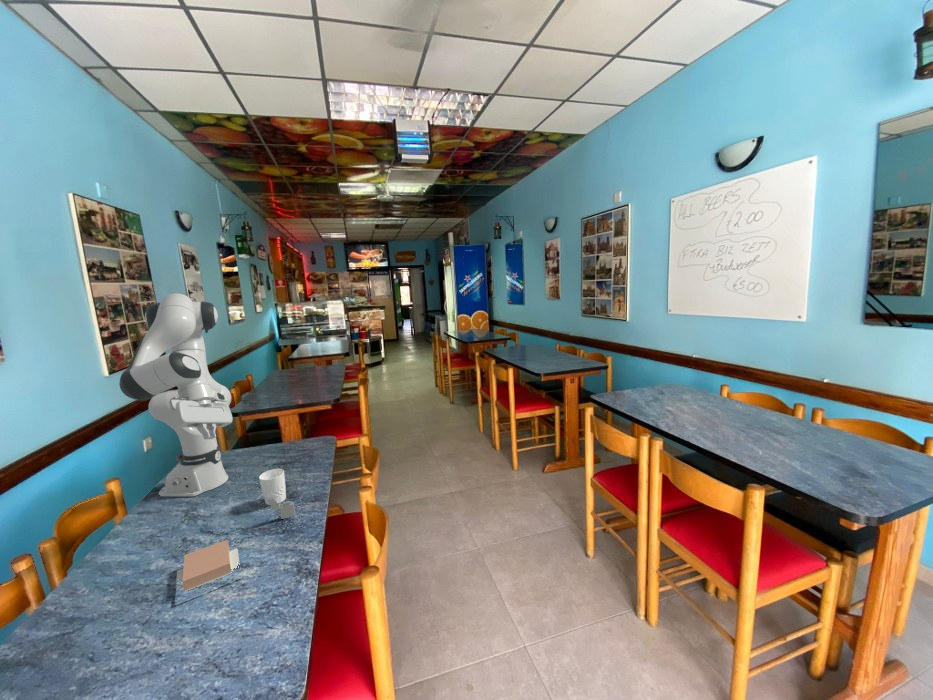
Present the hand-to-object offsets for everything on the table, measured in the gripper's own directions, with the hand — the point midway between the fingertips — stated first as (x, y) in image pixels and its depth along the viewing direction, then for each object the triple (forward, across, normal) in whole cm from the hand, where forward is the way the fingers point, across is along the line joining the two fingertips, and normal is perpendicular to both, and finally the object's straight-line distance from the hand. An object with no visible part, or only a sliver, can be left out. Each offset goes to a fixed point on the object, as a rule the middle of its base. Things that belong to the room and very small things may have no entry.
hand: (210, 438), depth 118 cm
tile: (+31, -5, +7) cm, 32 cm away
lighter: (+31, +14, -4) cm, 34 cm away
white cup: (+24, +23, +2) cm, 33 cm away
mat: (+37, -10, +4) cm, 38 cm away
